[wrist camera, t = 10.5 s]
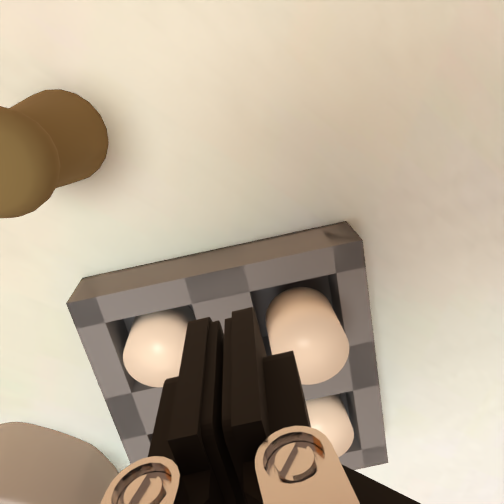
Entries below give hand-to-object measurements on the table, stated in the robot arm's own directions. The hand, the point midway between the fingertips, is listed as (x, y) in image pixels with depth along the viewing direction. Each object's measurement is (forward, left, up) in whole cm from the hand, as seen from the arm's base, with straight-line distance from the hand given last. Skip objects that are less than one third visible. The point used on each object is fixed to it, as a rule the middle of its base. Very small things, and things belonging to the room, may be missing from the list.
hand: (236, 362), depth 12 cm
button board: (+2, +15, -22) cm, 27 cm away
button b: (-3, +20, -21) cm, 30 cm away
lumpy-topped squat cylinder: (+21, +23, -22) cm, 38 cm away
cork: (+10, -5, -22) cm, 25 cm away
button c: (+7, +10, -21) cm, 25 cm away
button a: (-3, +10, -18) cm, 21 cm away
